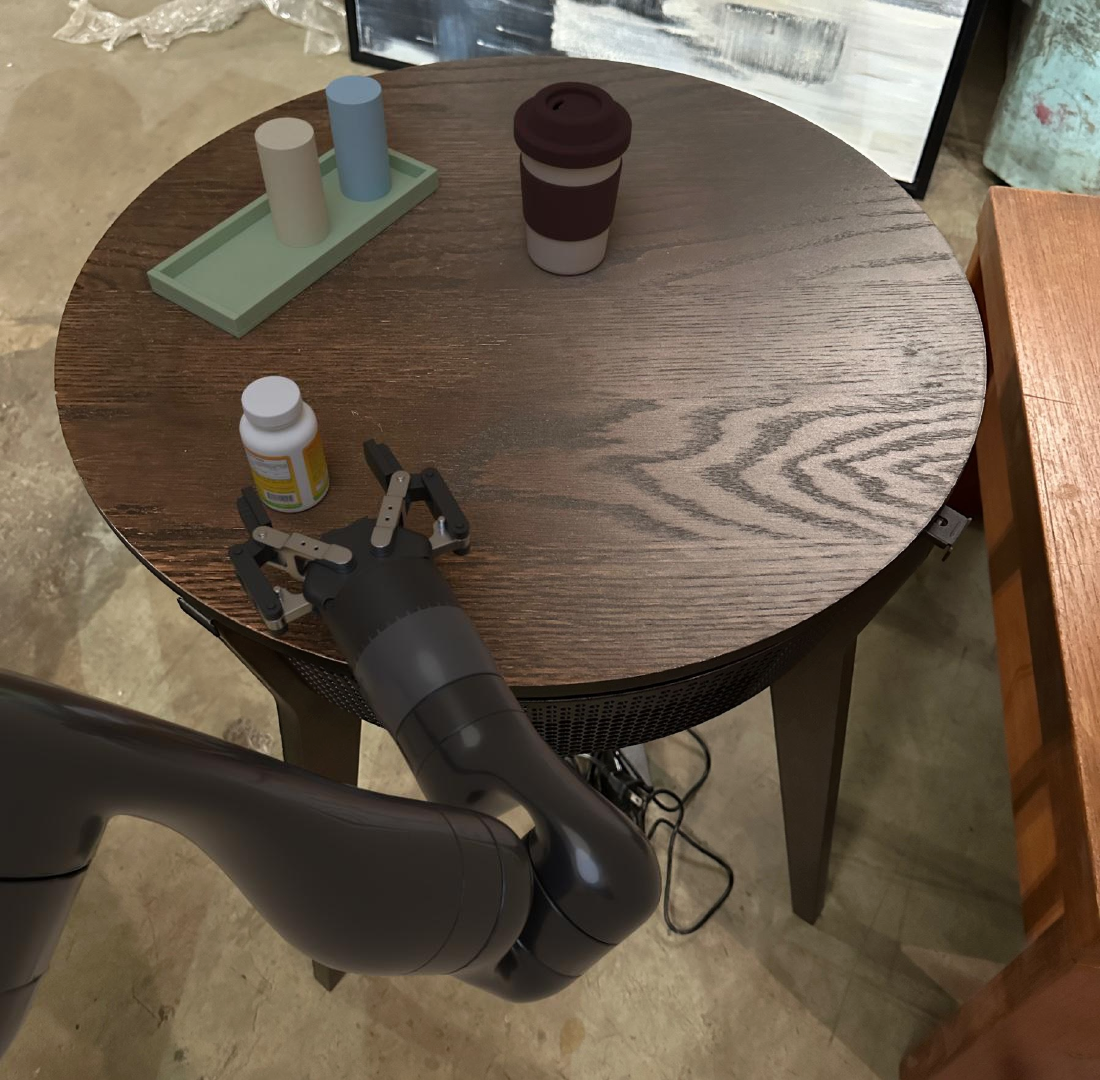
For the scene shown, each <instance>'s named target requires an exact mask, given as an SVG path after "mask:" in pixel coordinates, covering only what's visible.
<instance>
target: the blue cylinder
mask: <svg viewBox="0 0 1100 1080" xmlns="http://www.w3.org/2000/svg"><path fill="white" fill-rule="evenodd" d="M382 90H383V89H382V85H381V84H380V82H378V81H377V80H376V79H374V78H372V77H369V76H365V75H361V74H360V75H359V74H358V75H357V74H353V75H352V74H351V75H344V76H341V77H340V76H339V77H338V78H335V79H333V80H332V81H330V82H329V83H328V84H327V85H326V87H325V97H326V103H327V109H328V117H329V123H330V130H331V136H332V142H333V148H334V150H335V157H336V163H337V170H338V177H339V183H340V189H341V192H342V193H343V195H344V196H346V197H347V198H349V199H352V200H355V201H363V202H366V201H374V200H378V199H380V198H382V197H384V196H386V195H387V194H388V193H389V192H390V190H391V187H392V184H391V174H390V165H389V155H388V148H389V147H388V138H387V137H388V136H387V128H386V119H385V117H386V116H385V109H384V99H383V91H382Z"/></svg>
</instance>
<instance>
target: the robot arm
mask: <svg viewBox="0 0 1100 1080" xmlns="http://www.w3.org/2000/svg"><path fill="white" fill-rule="evenodd" d="M362 448H363V449H362V450H363V454H364V459H365V462H366V464H367V466H368V468H369V469H370V471H371V472H372V474H373V475H374V477H375V478H376V480H377V482H378V483H379V485H380V486H381V488H382V490H383V491H384V493H385V494H384V495H383V497H382V498H383V499H382V501H381V505H380V509H379V512H378V516H377V518H374V517H371V518H369V516H368V515H365V516H363V517H361V518H358V519H356V520H354V521H353V522H351V523H349V524H348V525H347V526H345V527H341V528H334V529H332V530H329V531H326V532H324V533H322V534H321V538H320V539H316V538H313V537H311V536H307V535H305V534H302V533H300V532H296V531H295V532H292V533H290V534H289V533H287V532H285V531H281V530H279V529H277V528H274V527H273V523H272V520H271V519H270V517H269V515H268V513H267V511H266V509H265V507H264V506H263V504H262V502H261V501H260V500H261V499H260V497H259V496H258V495H257V493H256V490H255V489H254V487H253V486H252V484H250V485H248V486H245V487H242V488H240V491H241V494H242V497H238V498H236V507H237V511H238V515H239V517H240V520H241V522H242V524H243V525H244V528H245V529H246V531H247V533H248V536H249V538H248V539H247V540H246V542H244V543H236V544H233V545H232V546H231V547H229V548H228V551H227V555H228V558H229V561H230V562H231V564H232V566H233V569H234V574H235V577H236V580H237V581H238V583H239V584H240V586H241V588H242V589H243V591H244V593H245V595H246V596H247V597H248V599H249V601H250V603H251V605H252V606H253V607H254V608H253V609H255V611H256V612H257V614H258V616H259V618H260V620H261V621H262V623H263V625H264V626H265V627H266V629H267V631H268V633H269V634H270V635H271V636H273V637H282V636H284V635H286V634H287V632H288V631H289V623H291V622H293V621H295V620H297V619H299V618H301V617H303V616H305V615H307V614H309V613H311V614H313V615H316V616H317V617H319V618H320V619H321V620H323V622H324V623H325V625H326V627H327V629H328V630H329V632H330V634H331V636H332V638H333V640H334V642H335V643H336V645H337V647H338V649H339V651H340V653H341V655H342V656H343V658H344V660H345V662H346V664H347V665H348V668H349V670H350V671H351V673H352V675H353V677H354V679H355V680H356V682H357V684H358V686H359V692H360V694H361V696H362V697H363V699H364V701H365V702H366V703H367V705H369V706H370V708H371V711H372V712H373V714H374V715H375V717H376V719H378V721H379V723H380V724H381V726H383V728H384V729H385V731H386V732H387V733H388V734H389V735H390V737H391V739H392V740H393V742H394V743H395V745H396V746H397V748H398V750H399V752H400V753H401V755H402V757H403V760H404V761H405V762H406V764H407V766H408V768H409V771H410V772H411V774H412V776H413V778H414V779H415V781H416V783H417V785H418V787H419V789H420V791H421V793H422V794H423V796H424V798H425V800H422V799H416V798H410V797H405V796H399V795H394V794H388V793H384V792H379V791H376V790H371V789H367V788H364V787H363V788H362V787H358V786H355V785H352V784H349V783H345V782H342V781H340V780H339V781H338V780H336V779H332V778H329V777H327V776H324V775H321V774H319V773H315V772H312V771H310V770H308V769H305V768H302V767H300V766H297V765H294V764H291V763H289V762H286V761H284V760H281V759H279V758H276V757H273V756H271V755H268V754H266V753H263V752H260V751H258V750H255V749H252V748H249V747H246V746H243V745H241V744H238V743H236V742H232V741H229V740H227V739H223V738H220V737H217V736H215V735H212V734H208V733H206V732H203V731H200V730H197V729H195V728H191V727H188V726H185V725H182V724H179V723H177V722H173V721H170V720H167V719H164V718H161V717H158V716H154V715H152V714H149V713H146V712H143V711H140V710H137V709H134V708H131V707H128V706H124V705H122V704H119V703H117V702H113V701H111V700H107V699H104V698H101V697H98V696H94V695H92V694H88V693H85V692H82V691H79V690H76V689H73V688H70V687H66V686H63V685H61V684H57V683H54V682H51V681H49V680H45V679H42V678H39V677H37V676H32V675H29V674H26V673H22V672H18V671H16V670H11V669H8V668H4V667H1V666H0V1064H2V1061H3V1060H4V1058H5V1056H6V1055H7V1053H8V1052H9V1050H10V1049H11V1047H12V1046H13V1044H14V1042H15V1040H16V1038H17V1036H18V1035H19V1033H20V1031H21V1029H22V1027H23V1025H24V1024H25V1021H26V1020H27V1019H28V1016H29V1013H30V1011H31V1010H32V1008H33V1005H34V1003H35V1001H36V998H37V997H38V995H39V991H40V989H41V987H42V985H43V984H44V981H45V978H46V976H47V974H48V971H49V969H50V966H51V965H50V963H51V961H52V959H53V957H54V956H55V952H56V951H57V948H58V946H59V942H60V940H61V938H62V936H63V933H64V931H65V928H66V926H67V923H68V921H69V919H70V916H71V914H72V911H73V909H74V907H75V905H76V902H77V900H78V896H79V894H80V893H81V889H82V887H83V885H84V882H85V880H86V877H87V875H88V873H89V870H90V868H91V865H92V862H93V861H94V858H95V857H96V856H97V855H96V854H97V852H98V849H99V848H100V845H101V843H102V840H103V837H104V835H105V832H106V829H107V827H108V824H109V822H110V821H111V819H113V818H114V817H117V816H128V817H133V818H137V819H141V820H144V821H148V822H151V823H155V824H158V825H161V826H162V827H165V828H167V829H170V830H172V831H173V832H175V833H177V834H179V835H181V836H182V837H184V838H185V839H186V840H188V841H189V842H191V843H192V844H193V845H195V846H196V847H197V848H198V849H199V850H201V851H202V853H204V855H206V856H207V858H209V859H210V860H211V861H212V862H214V864H215V865H216V866H218V868H219V869H220V870H221V871H222V872H223V873H224V874H225V876H226V877H227V878H228V879H229V880H230V881H231V882H232V884H234V886H235V887H236V888H237V889H238V890H239V891H240V892H241V894H242V895H243V896H244V897H245V898H246V900H247V901H248V902H249V904H251V906H252V907H253V909H254V910H255V911H256V912H257V913H258V914H259V915H260V917H262V918H263V919H264V920H265V922H266V923H267V924H268V925H269V926H270V927H271V928H272V929H273V930H274V931H275V932H276V933H277V934H278V936H280V938H281V939H283V941H285V942H286V943H287V944H289V945H290V946H291V947H292V948H293V949H294V950H296V951H298V952H299V953H301V954H302V955H304V956H305V957H307V958H309V959H311V960H313V961H314V962H316V963H318V964H320V965H323V966H325V967H327V968H329V969H332V970H337V971H340V972H344V973H349V974H354V975H358V976H370V977H388V976H389V977H395V976H396V977H399V976H400V977H403V976H404V977H405V976H406V977H407V976H448V975H449V976H451V977H453V978H454V979H456V980H459V981H460V982H463V983H464V984H466V985H469V986H471V987H474V988H477V989H479V990H482V991H484V992H486V993H488V994H490V995H493V996H495V997H496V998H499V999H501V1000H503V1001H506V1002H509V1003H512V1004H530V1003H536V1002H539V1001H542V1000H546V999H548V998H551V997H553V996H555V995H557V994H560V993H561V992H562V991H564V990H566V989H567V988H569V987H570V986H571V985H572V984H573V983H575V982H577V980H578V979H580V978H581V977H582V976H583V975H584V974H585V973H587V972H588V971H589V970H590V969H592V968H593V967H594V966H595V965H596V964H597V963H599V962H600V961H601V960H602V959H603V958H605V957H606V956H607V955H608V954H609V953H611V952H612V951H613V950H614V949H615V948H617V947H618V946H619V945H620V944H621V943H623V942H624V941H625V940H627V939H628V938H629V937H630V936H631V935H632V934H634V933H635V932H636V931H638V930H639V929H640V928H641V927H643V925H644V924H645V923H647V922H648V921H649V919H650V918H651V917H653V915H654V914H655V912H656V910H657V909H658V906H659V904H660V902H661V897H662V891H663V880H662V879H663V878H662V877H663V876H662V871H661V866H660V862H659V859H658V856H657V853H656V850H655V848H654V847H653V845H652V843H651V841H650V839H649V838H648V837H647V835H646V834H645V832H644V831H643V830H642V829H641V828H640V827H639V825H637V824H636V823H635V822H634V821H633V820H632V819H631V818H630V817H629V816H628V815H627V814H626V813H624V812H623V811H622V810H621V809H620V808H618V807H617V806H616V805H615V804H614V803H613V802H611V800H609V799H608V798H607V797H605V795H603V794H602V793H601V792H600V791H599V790H597V789H596V788H595V787H593V786H592V785H591V784H590V783H589V782H588V781H586V779H585V778H584V777H582V776H581V775H580V774H579V773H578V771H576V770H575V769H574V768H573V767H572V766H571V765H570V764H568V762H567V761H566V760H565V759H563V757H562V756H561V755H560V754H558V752H556V750H555V749H554V748H553V747H552V746H551V745H550V744H549V743H548V742H547V741H546V740H545V739H544V737H543V736H542V735H541V734H540V733H539V731H538V730H537V729H536V727H535V726H534V724H533V722H532V721H531V719H530V718H529V716H528V714H527V713H526V712H525V710H524V708H523V706H522V705H521V703H520V702H519V700H518V699H517V697H516V695H515V694H514V692H513V691H512V689H511V688H510V686H509V685H508V684H507V681H505V679H504V676H503V675H502V673H501V671H500V669H499V666H498V665H497V662H496V660H495V657H494V655H493V653H492V650H491V649H490V647H489V646H488V643H487V642H486V641H485V639H484V638H483V636H482V635H481V633H480V631H479V630H478V628H477V627H476V625H475V623H474V622H473V620H472V619H471V617H470V616H469V614H468V612H467V611H466V609H465V608H464V606H463V604H462V603H461V602H460V600H459V598H458V597H457V595H456V593H455V592H454V591H453V589H452V588H451V586H450V584H449V583H448V581H447V580H446V578H445V576H444V575H443V574H442V571H441V570H440V568H439V567H438V565H437V564H436V563H435V561H434V558H437V557H440V556H442V555H445V554H448V553H450V552H452V553H453V555H455V556H457V557H459V556H460V557H464V556H466V555H468V554H469V553H470V551H471V531H470V523H469V520H468V519H467V516H466V515H465V514H464V512H463V510H462V509H461V507H460V505H459V503H458V502H457V500H456V499H455V497H454V495H453V493H452V491H451V490H450V489H449V486H448V485H447V483H446V481H445V479H444V478H443V476H442V475H441V473H440V471H439V470H438V468H436V467H433V466H429V467H426V468H425V467H424V468H423V469H422V470H421V471H420V472H419V473H410V472H407V471H406V470H405V469H404V468H403V467H402V465H401V464H400V461H398V459H397V457H396V456H395V454H394V453H393V451H392V450H391V448H390V447H389V446H388V445H387V444H385V443H383V442H381V443H379V444H378V443H377V441H375V439H374V438H370V439H368V440H365V441H363V442H362ZM416 502H417V503H418V502H424V504H425V505H426V507H427V509H428V510H429V513H430V514H431V516H432V517H433V519H434V522H433V524H432V531H433V534H432V535H431V536H430V537H427V536H426V535H425V534H422V533H420V532H417V531H415V530H411V529H409V528H408V525H409V523H408V522H409V518H410V514H411V510H412V506H413V503H416ZM264 565H267V566H271V567H273V568H275V569H278V570H281V571H284V572H286V573H288V575H289V576H290V577H292V578H293V579H295V580H296V581H300V582H303V583H302V587H301V593H292V592H290V591H288V589H287V588H285V587H281V586H280V585H275V586H273V587H272V585H271V583H270V582H269V580H268V579H267V577H266V575H265V573H264V572H263V570H262V569H261V568H262V567H263V566H264ZM520 806H521V807H522V808H523V809H524V810H525V811H526V812H527V814H528V815H529V817H530V818H531V820H532V822H533V824H534V826H533V827H532V828H531V829H529V831H528V832H526V833H525V834H524V835H523V836H521V837H519V835H518V834H517V832H515V831H514V830H513V829H512V828H511V826H509V825H508V824H507V823H505V822H504V821H503V820H501V819H499V817H501V816H504V815H505V814H507V813H509V812H512V811H513V810H514V809H516V808H519V807H520Z"/></svg>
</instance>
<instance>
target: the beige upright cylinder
mask: <svg viewBox="0 0 1100 1080" xmlns="http://www.w3.org/2000/svg"><path fill="white" fill-rule="evenodd" d="M254 140H255V145H256V150H257V153H258V154H257V155H258V158H259V163H260V168H261V173H262V177H263V181H264V187H265V192H266V193H267V196H268V201H269V205H270V210H271V215H272V219H273V224H274V228H275V233H276V237H277V239H278V240H279V241H280V242H281V243H283V244H284V245H287V246H290V247H294V248H306V247H311V246H315V245H317V244H319V243H321V242H322V241H324V240H325V239H326V238H327V237H328V235H329V233H330V226H329V220H328V214H327V208H326V202H325V196H324V190H323V184H322V178H321V172H320V166H319V160H318V158H319V155H318V154H319V153H318V148H317V143H316V137H315V131H314V127H313V126H312V125H311V124H310V123H309V122H308V121H306V120H303V119H300V118H297V117H279V118H273V119H270V120H268V121H265V122H264V123H262V124H260V125H259V126H258V127H257V129H256V130H255V132H254Z"/></svg>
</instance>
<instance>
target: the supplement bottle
mask: <svg viewBox="0 0 1100 1080" xmlns="http://www.w3.org/2000/svg"><path fill="white" fill-rule="evenodd" d="M240 400H241V405H242V409H243V414H242V415H241V418H240V421H239V425H238V426H239V428H238V429H239V435H240V440H241V442H242V445H243V449H244V451H245V454H246V458H247V461H248V464H249V468H250V470H251V474H252V476H253V480H254V484H255V487H256V490H257V493H258V495H259V496H258V497H259V499H260V500H261V501H262V502H263V503H264V505H266V506H267V507H268V508H270V509H272V510H275V511H278V512H280V513H290V514H291V513H299V512H303V511H306V510H309V509H311V508H312V507H314V506H316V505H318V503H319V502H321V501H322V500H323V499H324V498H325V496H326V495H327V492H328V490H329V488H330V475H329V469H328V465H327V461H326V457H325V452H324V448H323V442H322V438H321V437H322V436H321V434H320V428H319V425H318V421H317V417H316V413H315V412H314V410H313V408H312V407H311V406H310V405H309V404H308V403H307V402H305V401H304V400H303V397H302V393H301V389H300V388H299V386H298V385H297V383H296V382H295V381H293V380H292V379H290V378H287V377H285V376H279V375H270V376H264V377H260V378H258V379H256V380H254V381H252V382H251V383H249V384H248V385H247V386H246V387H245V388H244V390H243V392H242V394H241V399H240Z"/></svg>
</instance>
